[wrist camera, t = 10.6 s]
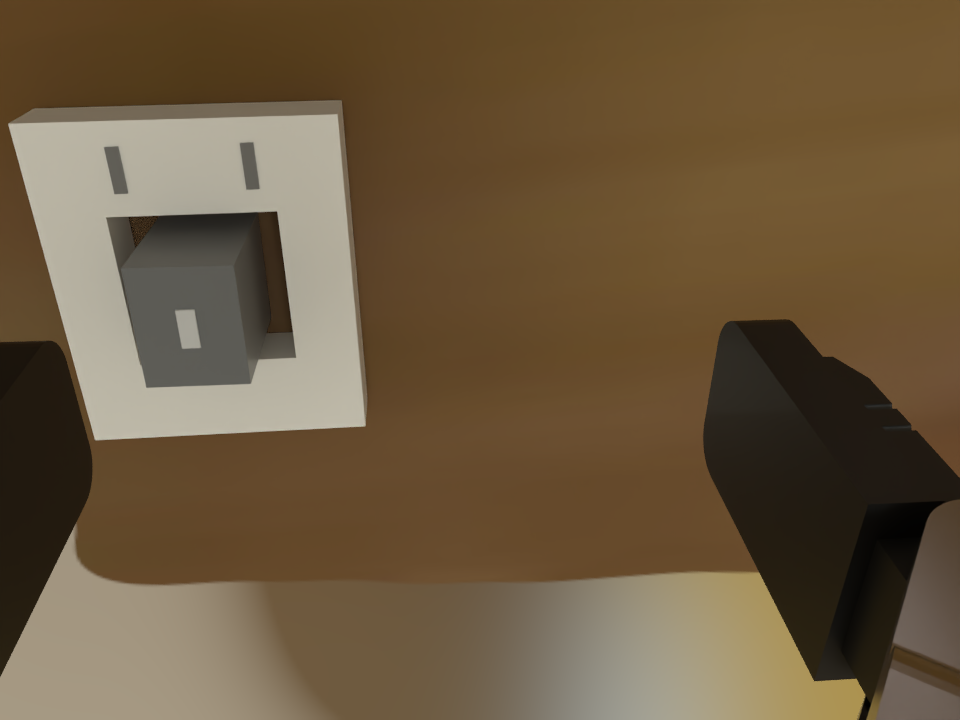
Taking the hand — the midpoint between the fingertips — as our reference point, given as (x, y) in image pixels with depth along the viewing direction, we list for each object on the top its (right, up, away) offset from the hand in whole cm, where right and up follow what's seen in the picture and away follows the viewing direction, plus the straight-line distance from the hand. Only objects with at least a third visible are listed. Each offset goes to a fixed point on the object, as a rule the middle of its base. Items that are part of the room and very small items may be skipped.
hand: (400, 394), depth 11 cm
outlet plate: (-10, +4, +27) cm, 29 cm away
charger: (-10, +4, +27) cm, 29 cm away
